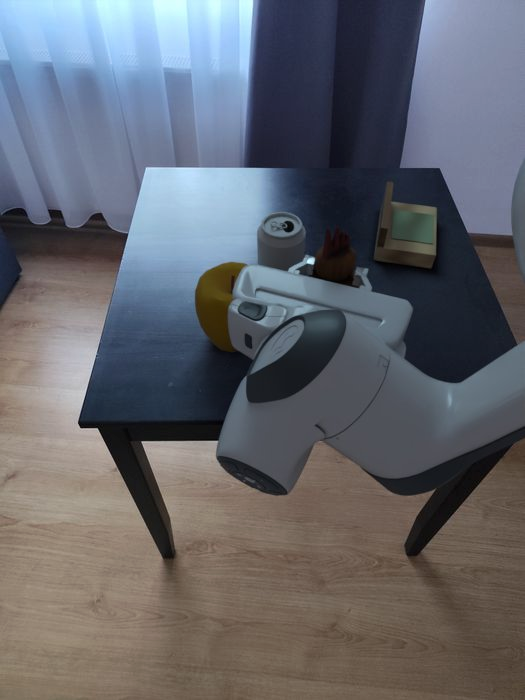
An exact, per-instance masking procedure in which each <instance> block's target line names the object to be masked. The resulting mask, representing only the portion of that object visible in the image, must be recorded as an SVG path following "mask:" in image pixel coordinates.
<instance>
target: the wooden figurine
mask: <svg viewBox="0 0 525 700" xmlns="http://www.w3.org/2000/svg"><path fill="white" fill-rule="evenodd" d="M331 233H332V232H331V229H330V228H329V227H328V228H326V231H325V237H324V244H323V245H322V246H321V247H320V248H319V249H318V250H317V252H316V253H315V256H314V257H315V270H314V273H313V275H307V276H308V277H312V278H317V279H321V280H325V281H329V282H333V283H338V284H342V285H346V286H350V287H354V288H359V287H358V286H354V285H352V282H353V277H354V273H355V269H356V263H357V255H356V251H355V250H354V249H353V247H352V246H351V244H350V243H351V242H350V241H351V240H350V234H349V233H347V232H345V231H344V230H341V231H340V226H336V227H335V230H334V233H333V237H332V234H331Z"/></svg>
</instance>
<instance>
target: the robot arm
mask: <svg viewBox="0 0 525 700" xmlns="http://www.w3.org/2000/svg"><path fill="white" fill-rule="evenodd" d="M510 222H511V223H510V224H511V235H512V241H513V247H514V252H515V256H516V260H517V265H518V268H519V271H520V274H521V275H520V276H521V277H522V280H523V283H524V284H525V155H524V156H523V159H522V161H521V164H520V166H519V168H518V170H517V175H516V178H515V181H514V185H513V189H512V195H511V206H510ZM314 270H315V256H314V255H313V256H312V255H309V254H304V260H303V262H300V263H298V264H296V265H295V266H293V267H291V268H289V270H288V272H287V271H283V270H279V269H275V268H270V267H266V266H262V265H258V263H250V264H247V266H245V267H243V268H242V270H241V272H240V273H239V275H238V278H237V280H236V282H235V285H234V288H233V293H232V294H233V301H232V302H231V304H230V305H229V308H228V329H229V335H230V340H231V343H232V346H233V347H234V348H235V349H237V350H238V351H237V352H239V353H241V354H243V355H245V356H246V357H248V358H249V359H251V360H252V362H251V364H250V366H249V368H248V370H247V373H246V376H244V377H243V379H242V380H241V381H240V383H239V385H238V387H237V389H236V390H235V393H234V396H233V398H232V401H231V403H230V404H229V408H228V410H227V413H226V416H225V418H224V421H223V424H222V427H221V430H220V433H219V436H218V441H217V444H216V450H215V458H216V460H217V463H218V464H219V466H220V468H222V469H223V470H224V471H225V473H228V474H229V475H230V476H231V477H233V478H234V479H236V480H238V481H239V482H241V483H242V484H244V485H246V486H248V487H249V488H251V489H253V490H254V489H255V490H257V491H259V492H261V493H263V494H266V495H270V496H275V497H279V496H288V495H289V494H291V492H292V491H293V489H294V488H295V487H296V485H297V483H298V481H299V479H300V477H301V475H302V473H303V471H304V469H305V467H306V464H307V463H308V461H309V458H310V456H311V453H312V451H313V449H314V446H315V444H317V443H318V442H320V441H321V442H322V443H324V444H325V445H326V446H329V447H330V448H331V449H333V450H335V451H336V452H338V453H339V454H341V455H342V456H343V457H345V458H347V459H348V460H350V461H351V462H352V463H354V464H355V465H357V466H358V467H360V468H361V470H362V471H364V472H365V474H367V475H369V476H370V477H371V478H372V479H374V481H376V482H378V483H379V484H380V485H381V486H382V487H384V488H385V489H386V490H387V491H388V492H389V493H392V494H394V495H397V496H402V497H412V496H418V495H422V494H427V493H430V492H432V491H435V490H437V489H439V488H441V487H443V486H445V485H446V484H448V483H449V482H450V481H452V480H453V479H455V478H456V477H457V476H458V475H460V474H461V473H463V472H464V471H465V470H466V469H468V468H470V466H472V465H474V464H475V463H476V462H478V461H481V460H482V459H484V458H487V457H488V456H490V455H492V454H494V453H496V452H498V451H501V450H503V449H505V448H507V447H509V446H511V445H513V444H516V443H518V442H521V441H523V440H524V439H525V340H523V341H521V342H520V343H518V344H517V345H515V346H514V347H512V348H511V349H509V350H508V351H506V352H505V353H503V354H501V355H500V356H499V357H498V358H496V359H494V360H493V361H491V362H490V363H488V364H487V365H485V366H483V367H482V368H481V369H479V370H478V371H476V372H474V373H473V374H472V375H470V376H468V377H467V378H465V379H463V381H460V382H447V381H443V380H440V379H437V378H434V377H431V376H429V375H428V374H426V373H424V372H423V371H422V370H420V369H419V368H418V367H416V366H415V365H414V364H412V363H410V362H409V361H408V360H407V359H406V353H407V346H406V343H405V342H404V338H405V337H406V334H407V331H408V328H409V326H410V323H411V318H412V315H413V312H414V307H413V306H412V304H411V303H410V301H408V300H407V299H404V298H400V297H396V296H391V295H387V294H384V293H379V292H375V291H372V290H373V286H372V285H371V282H370V280H369V278H368V274H369V270H370V269H369V268H367V267H362V266H355V270H354V272H355V273H354V277H353V282H352V285H354V286H358V287H359V288H354V287H350V286H346V285H342V284H338V283H333V282H329V281H325V280H321V279H317V278H312V277H308V276H309V275H313V273H314Z"/></svg>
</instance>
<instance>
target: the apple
mask: <svg viewBox="0 0 525 700" xmlns="http://www.w3.org/2000/svg"><path fill="white" fill-rule="evenodd" d="M247 265H248V264H247V263H244V262H238V261H228V262H222V263H220V264H218V265H215V266H214V267H211V268H209V269H207V270H206V271H204V272H203V273H202V275H200V277H199V278H198V282H197V284H196V287H195V290H194V307H195V314H196V317H197V320H198V322H199V326H200V328H201V329H202V331H203V333H204V334H205V336H206V337H207V338H208V339H209V341H210V342H211V343H212V344H213V345H214V346H215V347H217V348H218V349H219V350H221V351H223V352H228V353H236V352H237V353H238V352H239V351H238V350H237V349H235V348H234V347H233V346H232V343H231V340H230V335H229V329H228V308H229V305H230V304H231V302H232V301H233V294H232V293H233V288H234V285H235V282H236V280H237V278H238V275H239V273H240V272H241V270H242V268H243V267H245V266H247Z"/></svg>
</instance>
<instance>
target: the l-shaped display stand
mask: <svg viewBox="0 0 525 700" xmlns="http://www.w3.org/2000/svg"><path fill="white" fill-rule="evenodd" d="M393 191H394V182H393V181H387V182H386V184H385V189H384V194H383V198H382V202H381V208H380V211H379V217H378V224H377V225H378V226H377V232H376V239H375V247H374V254H373V261H377V262H383V263H384V262H385V263H392V264H397V265H404V266H411V267H417V268H425V269H432V268H433V265H434V262H435V260H436V257H437V226H438V225H437V221H438V220H437V219H438V207H435V206H428V205H422V204H413V203H406V202H398V201H392V200H393Z"/></svg>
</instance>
